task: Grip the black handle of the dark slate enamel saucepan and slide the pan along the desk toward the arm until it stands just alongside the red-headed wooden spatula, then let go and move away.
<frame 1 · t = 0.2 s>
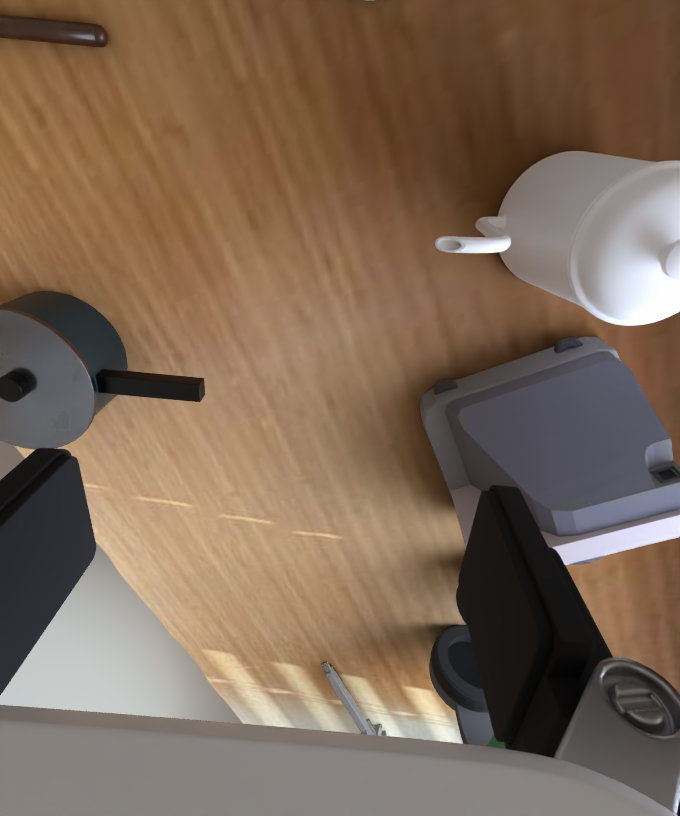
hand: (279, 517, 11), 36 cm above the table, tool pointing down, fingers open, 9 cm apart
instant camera: (523, 430, 51), on the table
headphones: (476, 600, 64), on the table
saucepan: (64, 353, 49), on the table
coffeepot: (549, 221, 42), on the table
caliper: (355, 696, 75), on the table
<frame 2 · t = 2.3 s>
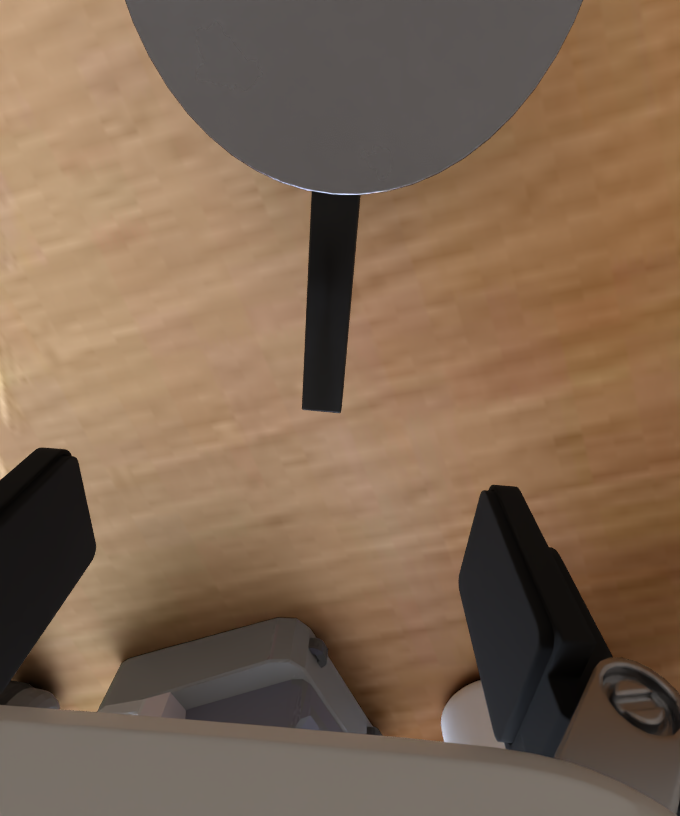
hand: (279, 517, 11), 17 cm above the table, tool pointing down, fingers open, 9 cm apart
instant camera: (258, 703, 42), on the table
saucepan: (356, 8, 20), on the table
coffeepot: (503, 704, 40), on the table
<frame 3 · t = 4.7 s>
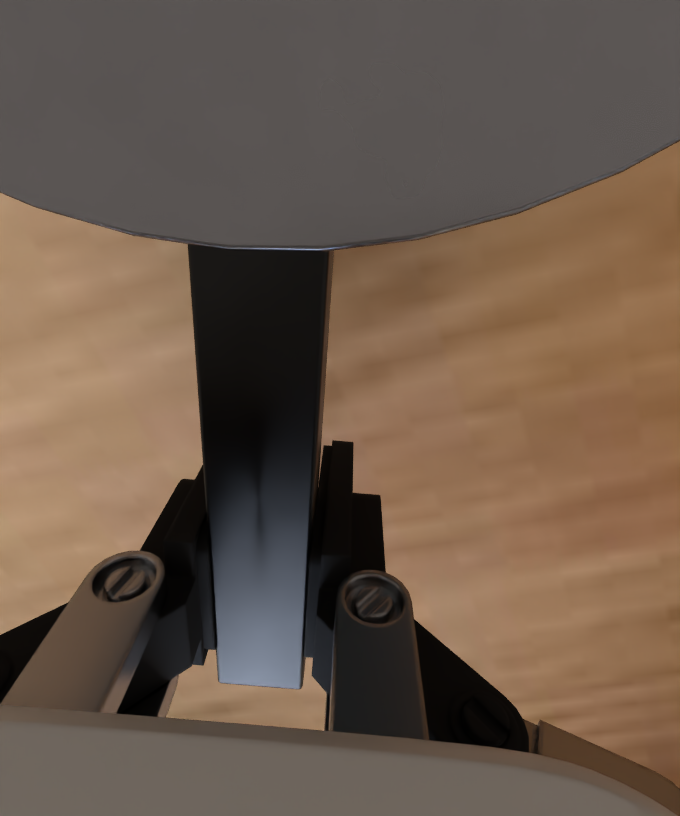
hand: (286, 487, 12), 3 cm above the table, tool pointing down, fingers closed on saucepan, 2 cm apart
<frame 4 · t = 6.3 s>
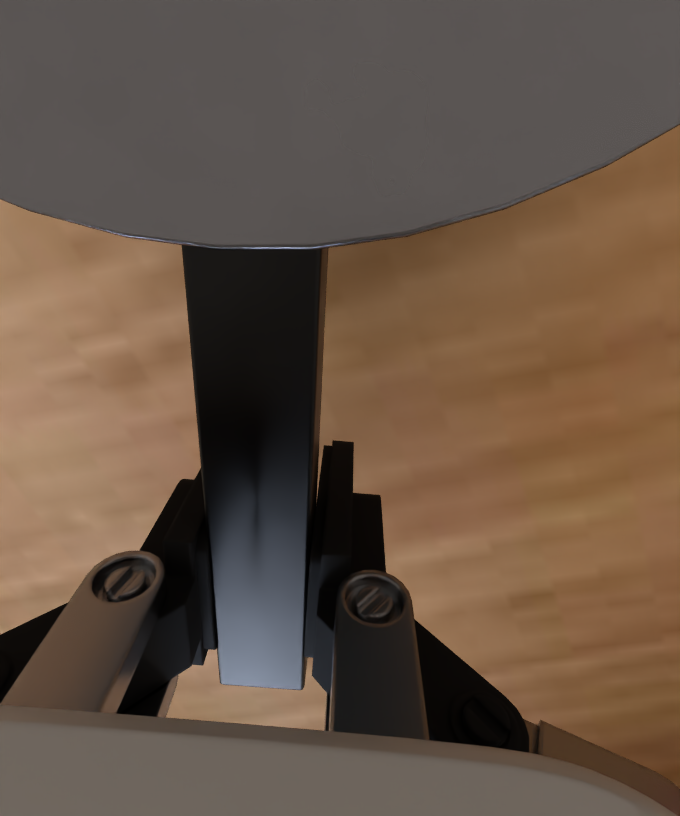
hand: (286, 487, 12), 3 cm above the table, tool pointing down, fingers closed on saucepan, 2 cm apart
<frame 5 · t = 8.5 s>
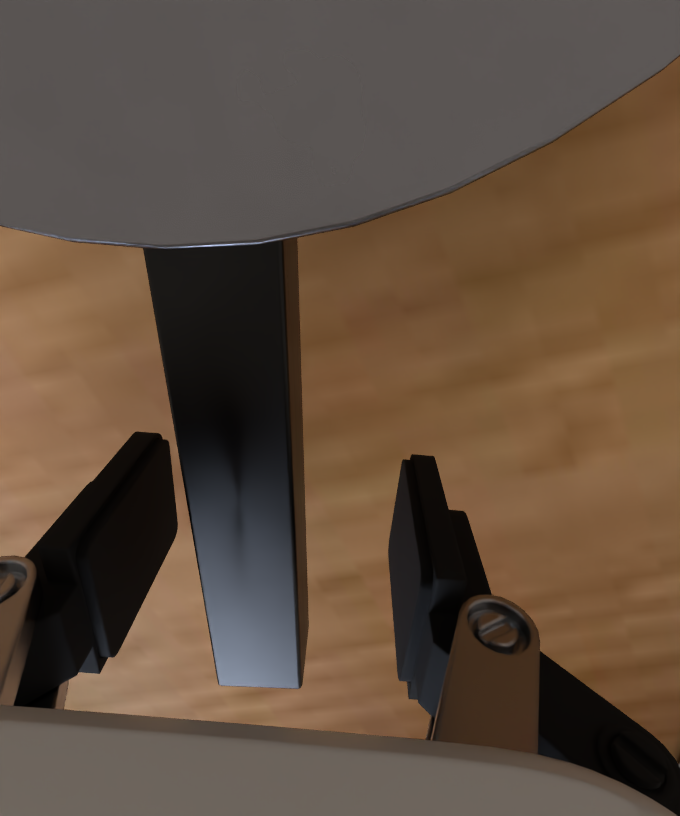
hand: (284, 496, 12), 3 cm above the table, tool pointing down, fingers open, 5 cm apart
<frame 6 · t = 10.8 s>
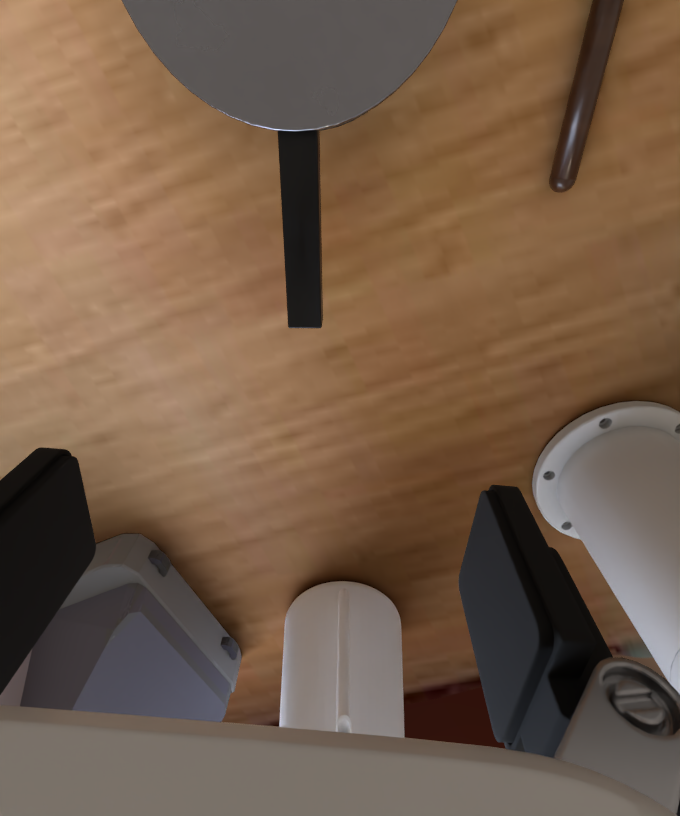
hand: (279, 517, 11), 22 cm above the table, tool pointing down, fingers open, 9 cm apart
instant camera: (125, 621, 46), on the table
coffeepot: (343, 610, 45), on the table
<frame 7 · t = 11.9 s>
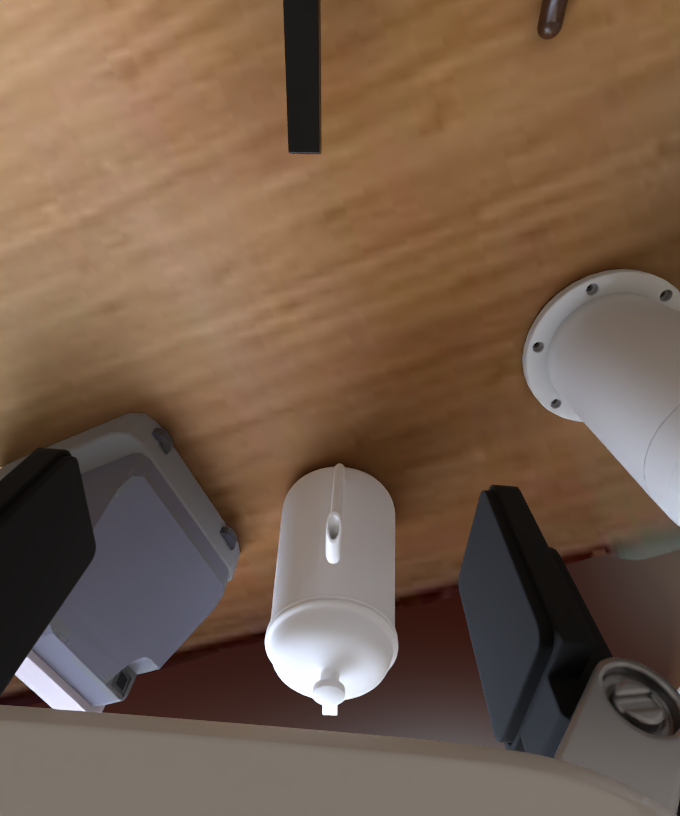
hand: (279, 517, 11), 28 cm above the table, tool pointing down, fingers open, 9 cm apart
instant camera: (129, 511, 48), on the table
coffeepot: (339, 502, 46), on the table
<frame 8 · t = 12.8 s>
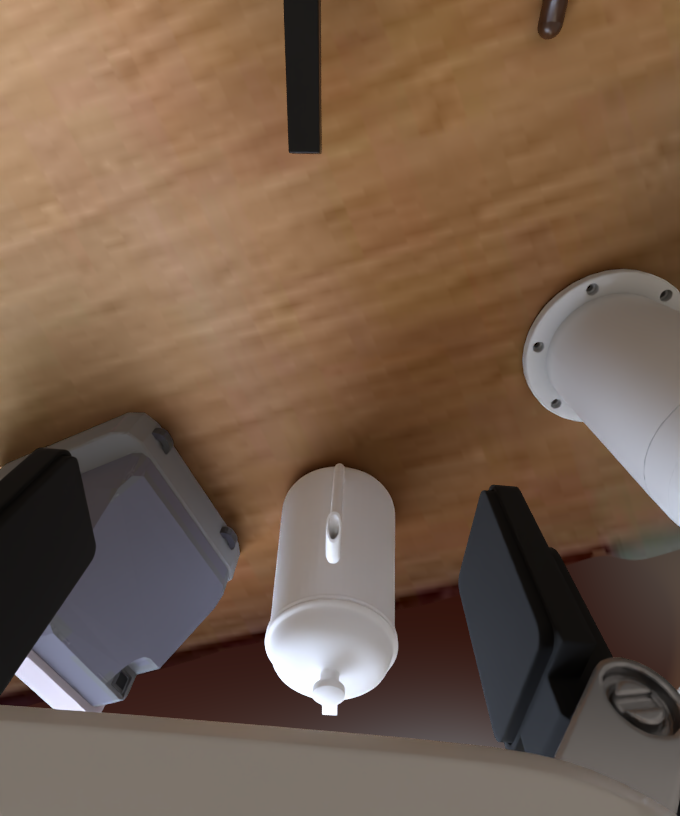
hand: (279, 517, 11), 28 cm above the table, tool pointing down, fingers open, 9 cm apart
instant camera: (129, 511, 48), on the table
coffeepot: (339, 502, 46), on the table
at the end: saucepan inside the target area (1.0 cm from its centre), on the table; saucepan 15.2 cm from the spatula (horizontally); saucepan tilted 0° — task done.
